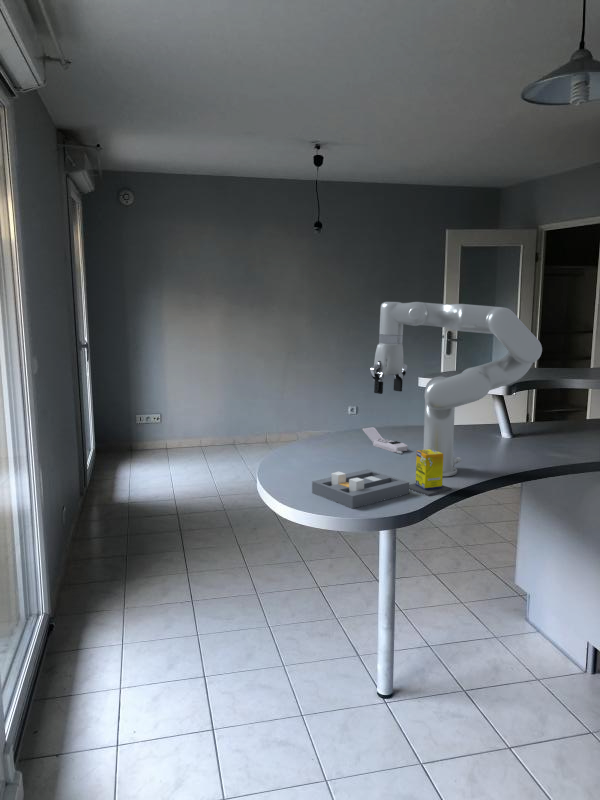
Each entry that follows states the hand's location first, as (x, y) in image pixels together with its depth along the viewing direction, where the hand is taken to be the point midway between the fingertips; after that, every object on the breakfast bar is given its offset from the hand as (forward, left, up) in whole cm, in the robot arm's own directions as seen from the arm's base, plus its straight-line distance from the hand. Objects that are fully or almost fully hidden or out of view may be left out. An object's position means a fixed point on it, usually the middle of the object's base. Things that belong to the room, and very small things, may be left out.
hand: (388, 392), depth 207 cm
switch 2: (+30, +19, -24) cm, 43 cm away
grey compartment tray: (+25, +15, -26) cm, 39 cm away
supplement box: (+6, +24, -26) cm, 36 cm away
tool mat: (+6, +24, -26) cm, 36 cm away
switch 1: (+30, +11, -24) cm, 40 cm away
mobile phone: (-23, -24, -27) cm, 42 cm away
